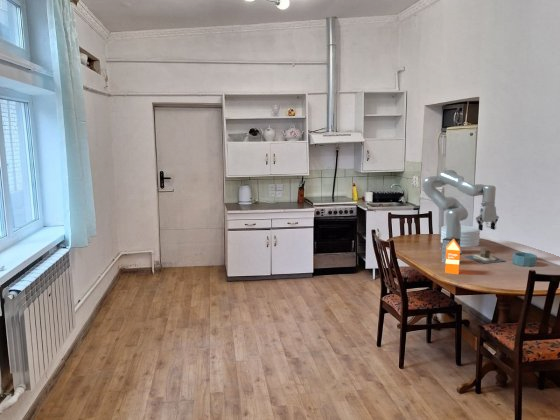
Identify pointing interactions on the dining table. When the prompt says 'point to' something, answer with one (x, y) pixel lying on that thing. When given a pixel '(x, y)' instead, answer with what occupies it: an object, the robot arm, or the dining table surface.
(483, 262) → the mat
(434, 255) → the dining table surface
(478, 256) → the lid
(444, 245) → the coffee box
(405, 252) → the dining table surface
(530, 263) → the bowl
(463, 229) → the plate stack
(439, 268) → the dining table surface
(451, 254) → the orange juice
